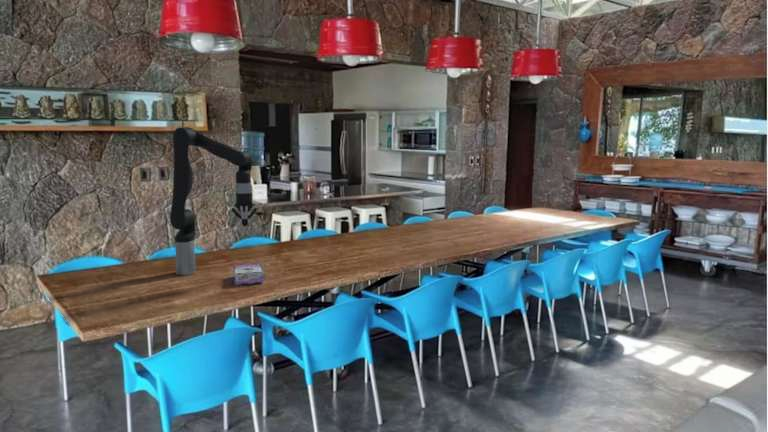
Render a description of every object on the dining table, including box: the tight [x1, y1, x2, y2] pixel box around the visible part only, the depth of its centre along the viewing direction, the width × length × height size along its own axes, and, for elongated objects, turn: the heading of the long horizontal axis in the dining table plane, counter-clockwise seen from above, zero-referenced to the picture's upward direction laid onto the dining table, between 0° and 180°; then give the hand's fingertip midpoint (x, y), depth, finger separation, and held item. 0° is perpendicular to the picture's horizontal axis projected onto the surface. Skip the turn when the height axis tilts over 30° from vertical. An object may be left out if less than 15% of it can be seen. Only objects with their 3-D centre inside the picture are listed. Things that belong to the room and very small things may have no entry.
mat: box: [226, 275, 266, 283], centre depth 268 cm, size 18×8×1 cm, turn 99°
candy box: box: [233, 263, 264, 286], centre depth 266 cm, size 14×6×16 cm
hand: (245, 226), depth 268 cm, fingers closed
